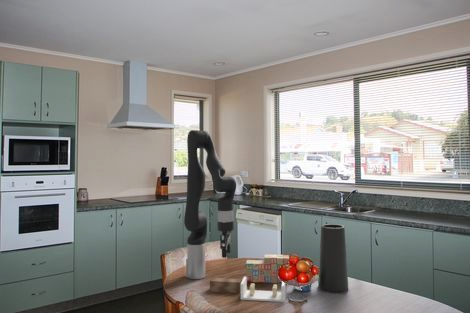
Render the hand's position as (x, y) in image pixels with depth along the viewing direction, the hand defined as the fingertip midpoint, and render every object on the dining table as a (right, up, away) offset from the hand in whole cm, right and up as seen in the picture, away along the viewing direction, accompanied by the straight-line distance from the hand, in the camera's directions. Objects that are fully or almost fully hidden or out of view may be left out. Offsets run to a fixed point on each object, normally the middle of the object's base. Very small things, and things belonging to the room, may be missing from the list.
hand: (226, 255), depth 175 cm
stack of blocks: (+20, -17, +13) cm, 29 cm away
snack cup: (+36, -16, +1) cm, 39 cm away
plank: (0, -17, 0) cm, 17 cm away
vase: (+50, -16, +2) cm, 53 cm away
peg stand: (+17, -16, -8) cm, 25 cm away
